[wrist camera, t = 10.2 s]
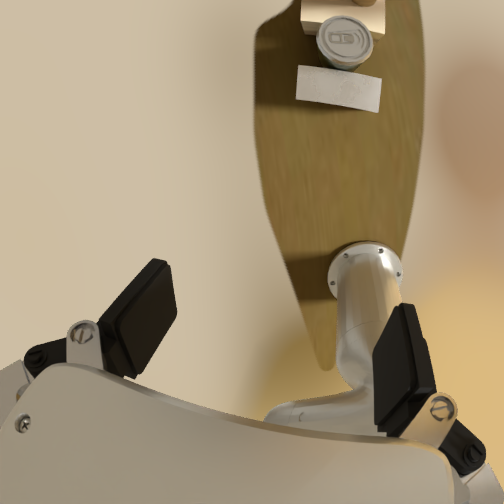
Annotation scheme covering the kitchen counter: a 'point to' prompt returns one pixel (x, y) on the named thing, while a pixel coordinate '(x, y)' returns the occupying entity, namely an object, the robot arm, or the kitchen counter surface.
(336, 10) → the wooden block with peg
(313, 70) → the grey box
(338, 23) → the beer can
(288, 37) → the kitchen counter surface
